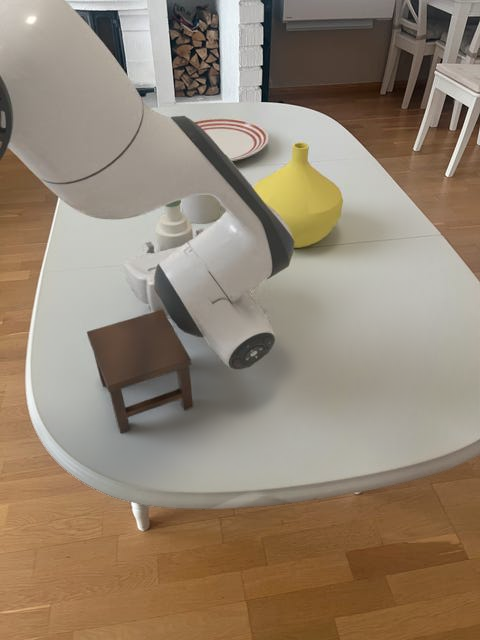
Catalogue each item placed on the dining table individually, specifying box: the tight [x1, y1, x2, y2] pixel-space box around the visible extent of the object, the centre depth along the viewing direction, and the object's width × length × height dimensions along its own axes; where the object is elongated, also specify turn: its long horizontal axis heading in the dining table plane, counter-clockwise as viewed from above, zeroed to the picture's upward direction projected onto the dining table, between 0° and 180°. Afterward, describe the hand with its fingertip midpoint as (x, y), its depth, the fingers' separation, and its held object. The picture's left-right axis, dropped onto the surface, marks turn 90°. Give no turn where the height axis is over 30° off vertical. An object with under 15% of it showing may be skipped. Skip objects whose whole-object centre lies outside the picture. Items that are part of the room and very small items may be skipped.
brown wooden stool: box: [86, 310, 194, 434], centre depth 73 cm, size 11×11×10 cm
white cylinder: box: [181, 195, 221, 225], centre depth 110 cm, size 8×8×12 cm
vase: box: [253, 141, 344, 249], centre depth 102 cm, size 18×18×19 cm
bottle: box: [155, 199, 194, 252], centre depth 87 cm, size 6×6×18 cm
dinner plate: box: [193, 117, 270, 162], centre depth 139 cm, size 27×27×3 cm
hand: (173, 239), depth 87 cm, fingers open, 8 cm apart
